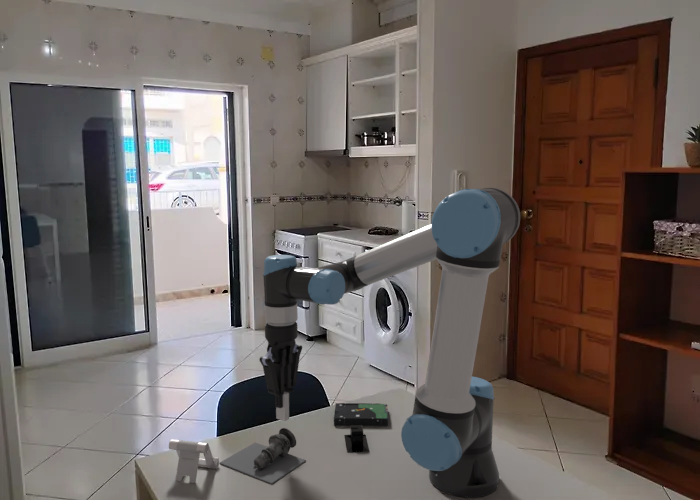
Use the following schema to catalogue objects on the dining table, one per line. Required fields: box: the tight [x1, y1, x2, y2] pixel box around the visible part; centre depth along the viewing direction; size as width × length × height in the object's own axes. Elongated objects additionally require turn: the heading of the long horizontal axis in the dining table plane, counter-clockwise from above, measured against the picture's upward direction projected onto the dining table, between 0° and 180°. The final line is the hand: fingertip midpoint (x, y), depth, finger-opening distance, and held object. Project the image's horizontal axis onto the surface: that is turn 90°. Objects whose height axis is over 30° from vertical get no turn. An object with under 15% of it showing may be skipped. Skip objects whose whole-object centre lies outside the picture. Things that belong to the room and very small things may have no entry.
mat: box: [219, 442, 307, 485], centre depth 134 cm, size 16×12×1 cm
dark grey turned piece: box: [254, 427, 297, 470], centre depth 133 cm, size 6×6×12 cm
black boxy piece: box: [343, 425, 370, 454], centre depth 143 cm, size 12×7×5 cm, turn 5°
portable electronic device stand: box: [168, 439, 220, 484], centre depth 129 cm, size 9×8×8 cm
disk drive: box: [333, 402, 389, 427], centre depth 158 cm, size 10×3×15 cm
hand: (282, 418), depth 135 cm, fingers closed
